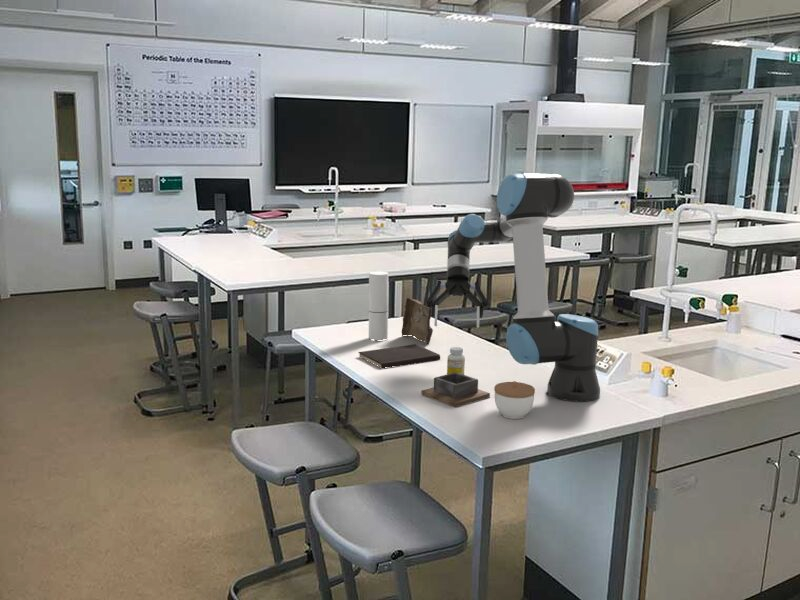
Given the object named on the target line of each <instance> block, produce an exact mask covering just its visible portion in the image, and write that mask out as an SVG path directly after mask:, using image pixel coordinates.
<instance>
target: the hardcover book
mask: <svg viewBox="0 0 800 600" xmlns="http://www.w3.org/2000/svg"><path fill="white" fill-rule="evenodd" d="M358 354H359V358H360V357H362V358H364V359H366V360H368V361H370V362H372V363H374V364H376V365H378V366H379V367H378V366H377V367H378V368H380V367H381V368H384V369H386V368H385V367H390V368H393V367H392V366H397V367H401V366H400V365H403V366H408V364H410V365H415V364H414V363H416V364H421V363H427V362H428V361H429V362H433V361H440V360H441V355H440V354H439V353H437V352H435V351H432V350H431V349H428V348H426V347H424V346H421V345H418V344H416V343H415V344H413V343H412V344H406V345H400V346H399V345H398V346H391V347H385V348H378V349H372V350H364V351H358ZM362 358H361V359H362ZM364 359H363V360H364ZM366 360H365V361H366ZM368 361H367V362H368ZM370 362H369V363H370ZM420 362H421V363H420ZM429 362H428V363H429ZM372 363H371V364H372ZM374 364H373V365H374ZM376 365H375V366H376ZM381 368H380V369H381Z"/></svg>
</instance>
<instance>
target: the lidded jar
mask: <svg viewBox="0 0 800 600" xmlns="http://www.w3.org/2000/svg"><path fill="white" fill-rule="evenodd" d="M493 387H494V402H495V406H496V409H497V410H498V411H499V413H501V415H502V417H503V418H506V419H511V420H522V419H524V418H525V417H526V415H527V414H528V413H530V411H531V410H532V408H533V405H534V400H535V393H536V389H535V387H534V386H532V385H531V384H528V383H526V382H525V383H524V382H520V381H515V380H514V381H505V382H504V381H503V382H499V383H496V384H495V385H494V386H493Z"/></svg>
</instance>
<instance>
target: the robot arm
mask: <svg viewBox="0 0 800 600" xmlns="http://www.w3.org/2000/svg"><path fill="white" fill-rule="evenodd" d="M499 184H500V185H499V186H498V188H497V189H498V190H497V193H496V194H497V195H496V207H497V210H498V212H499V214H501V215H503V216H504V217H501V218H499V219H484V218H482V216H480V215H477V214H475V213H469V214H467V215H465V216H464V218H463V219H462V220H461V221H460V223H459V226H458V227H457V229H456V230H454V231H453V232H451V233H449V236H448V241H447V259H446V261H447V264H446V266H447V267H446V282H442V281H441V280H437V282H436V286H435V287H434V289H433V290H432V292H431V293H430V295H429V296H428V298H427V299H426V306H427V307H428V308H430V309H431V317H434V327H437V326H438V313H439V311H438V307H439V305H441V304H442V303H443V302H444V301H445V300H446V299H447V298H450V297H451V296H452V297H453V296H454V297H455V296H456V297H457V296H460V297H463V296H464V297H466V298H467V299H468V300H469V301H470V302H471V303H472V304H473V305H474V307H476V328H477V329H478V328H480V319H483V315H484V310H488V309H489V302H488V300H487V298H486V296H485V295H484V293H483V292H482V289H481V288H480V284H479V282H478V281H475V282H474V283H473V282H472V283H471V282H470V263H471V262H470V255H471V254H470V253H471V250H472V249H473V247H474V245H475V244H476V243H477V244H479V243H511V242H512V244H513V245H512V246H513V260H514V261H513V263H514V273H515V274H514V275H515V287H516V288H515V290H516V300H517V301H516V304H517V313H516V314H514V316H513V317H512V320H513V321H512V323H511V324H510V325H509V326H508V327H507V329H506V333H505V339H506V340H505V341H506V346H507V350H508V352H509V354H510V355H511V358H513V360H514V361H515V362H517V363H518V364H520V365H537V364H547V363H554V367H553V370H552V373H551V374H550V377H549V379H548V382H547V388H546V389H547V390H546V392H547V394H548V395H550V396H552V397H553V396H554V398H555V399H559V400H563V401H570V402H590V401H594V400H597V399H599V398H600V397H601V396H600V395H601V386H600V383H599V380H598V375H597V370H596V366H597V353H598V351H597V350H598V337H599V325H598V322H597V321H596V320H594V319H592V318H589V317H587V316H583V315H582V316H581V315H577V314H568V313H560V314H558V315H557V318H556V319H555V314H554V313H552V312H551V311H550V308H549V299H548V297H549V296H548V287H547V286H548V285H547V271H546V270H547V269H546V258H545V257H546V256H545V243H544V230H543V229H544V228H543V227H544V226H543V225H544V224H545V223H546V222H547V220H548V218H551V219H552V218H557V217H559V216H561V215H563V214H565V213H566V212H567V211H569V210H570V208H571V207H572V205H573V203H574V200H575V191H574V188H573V184H572V183H571V181H569V180H568V179H567V178H566V177H564V176H563V175H561V174H557V173H531V172H530V173H529V172H528V173H527V172H520V173H510V174H508V175H507V176H505V177H504V178H503V179H502V181H501V182H500V183H499ZM443 288H445V290H444V291H443V292H442V293H441V294H440V295H439V293H440V291H441V290H443ZM470 289H472V290H473V291H475V295H476V296H477V297H478V298H477V297H476V296H475V295H474V293H473V292H471V290H470ZM438 295H439V296H438Z"/></svg>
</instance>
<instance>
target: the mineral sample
mask: <svg viewBox="0 0 800 600" xmlns="http://www.w3.org/2000/svg"><path fill="white" fill-rule="evenodd" d="M404 308H405V309H404V311H403V317H402V327H401V337H402V336H403V335H412V336H415V337H416V338H417V339H419V340H422V341H421V342H423V341H425V342H424V343H425V346H426V345H427V344H428V345H429V344H430V343H431V338H432V335H433V332H434V330H433V328H432V327H431V324H430V322H431V317H432V315H431V312H432V308H431V307H427V305H425V304H424V303H423V302H421V301H420V300H418V299H413V298H408V297H407V298H406V300H405V305H404ZM419 340H418V341H419Z"/></svg>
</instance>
